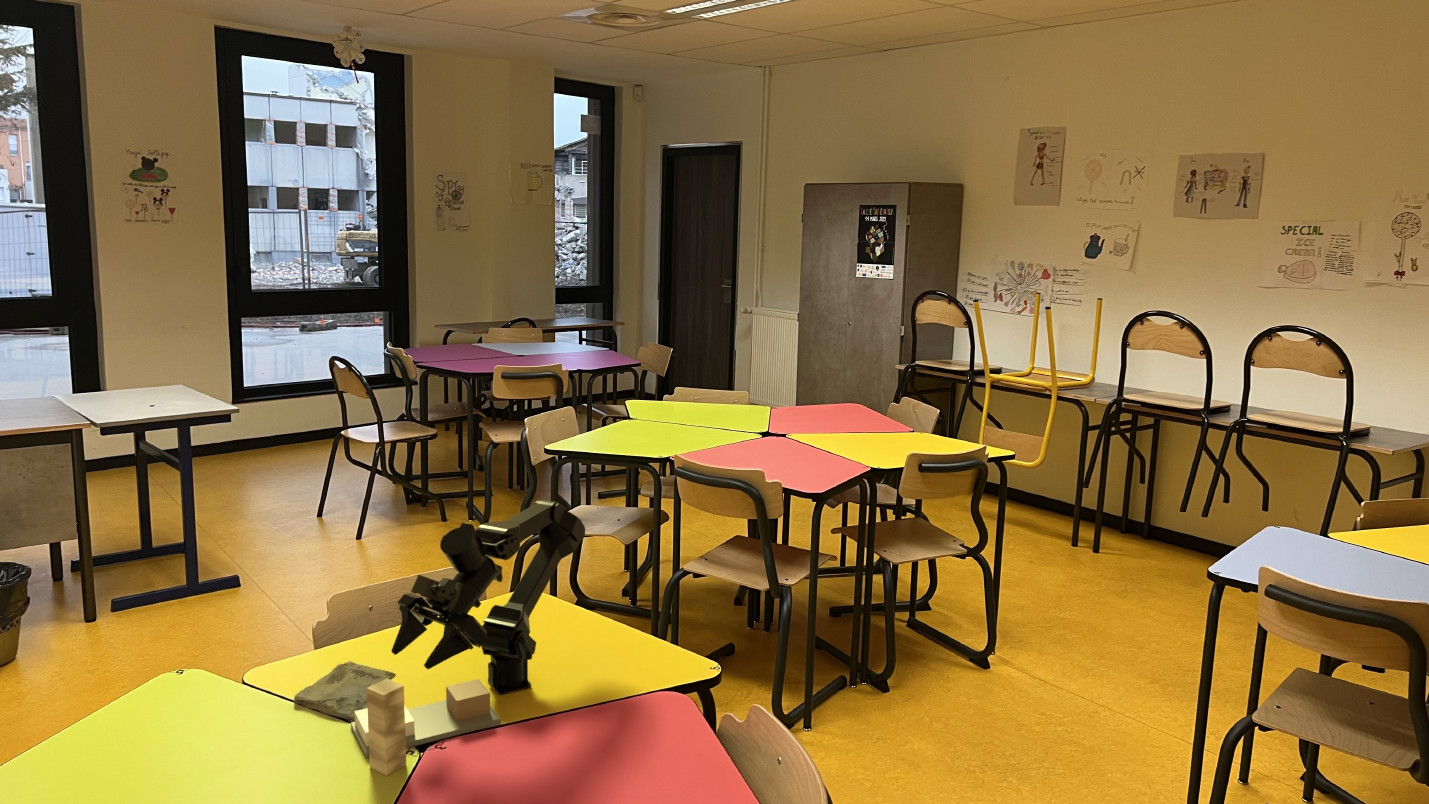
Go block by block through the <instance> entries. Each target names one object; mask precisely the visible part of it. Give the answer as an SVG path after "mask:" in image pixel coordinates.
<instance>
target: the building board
mask: <svg viewBox="0 0 1429 804" xmlns="http://www.w3.org/2000/svg"><path fill="white" fill-rule="evenodd" d="M445 696H446V699H445V700H439V701H436V702H433V703H432V702H431V703H428V704H424V705H423V704H422V705H420V706H415V707H410V708H407V707H406V705H405V704H404V707H405V738H406V749H408V748H412V747H416V746H420V745H424V744H427V743H432V742H437V741H440V740H443V739H444V740H445V739H447V738H451V737H454V736H455V737H456V736H459V735H463V734H467V733H470V732H475V731H478V730H482V729H485V728H486V729H487V728H490V727H493V726H497V725H501V722H502V720H501V719H502V718H501V717H500V716H499V715H498V713H497V712H496V710H495V709H494V708H493V706H492V705H491V692H490V691H489V690H488V687H486V686H485V685H484V683H483V682H482V681H481V679H479V678H477V679H472V680H467V681H463V682H459V683H454V684H450V685H446V686H445ZM350 729H351V732H352V733H353V735H354V737H355V738H356V741H357V743H358V744H359V747H360V749H361V751H362V753H363V754H364V757H365V759H369V734H368V710H367V709H362V710H358V711H355V721H352V722H350Z"/></svg>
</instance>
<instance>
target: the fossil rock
mask: <svg viewBox="0 0 1429 804" xmlns="http://www.w3.org/2000/svg"><path fill="white" fill-rule="evenodd" d="M396 676H397V674H396V673H395V672H391V671H389V670H385V669H381V668H380V669H378V668H376V667H371V666H368V665H364V664H359V663H356V662H354V661H351V660H349V661H347V662H344V663H338V664H336V666H335V667H334V668H333V669H332V670H331V671H330V672H328V674H325V675H324V676H323V677H321V678H319V679H318V680H316V682H314V683H313V684H312V685H308V686H306V687H304V688H303V689H302V690H299V691H298V692H297V693H296V694H295V695H294V697H293V701H294V702H293V703H294V704H296V705H298V706H299V705H300V706H302V707H305V708H307V709H310V710H316V711H319V712H320V713H322V714H325V715H327V716H332V717H336V718H340V719H341V718H342V719H345V720H346V719H347V720H351V721H353V722H355V711H358V710H362V709H367V688H368V687H370V686H372V685H374V684H376V683H379V682H381V681H383V680H385V679H389V680H392V679H394V677H396Z"/></svg>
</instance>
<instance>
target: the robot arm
mask: <svg viewBox="0 0 1429 804" xmlns="http://www.w3.org/2000/svg"><path fill="white" fill-rule="evenodd" d="M536 533H538V539H539V540H538V541H539V547H538V549H537V550H536V552H535V554H534V556H533V557H532V560H531V561H530V562H529V565H528V566H527V568H526V570H525V572H524V573H523V575H522V576H521V578H520V580H519V582H518V583H517V585H516V586H515V589H514V590H513V592H512V594H511V596H510V597H509V599H508V601H507V602H506V604H504V605H499V604H494V605H493V606H492V607H491V608H490V610H489V613H488V614H487V616H486V617H485V619H483V624H481V623H480V621H478V620H477V619H476V617H474V615H470V614H468V613H469V612H471V610H472V609H473V608H475V609H479V608H480V606H481V605H482V602H481V601H480V600H479V599H480V598H481V597H482V595H483V594H484V593H485V591H486V590H487V589H488V588H489V587H490V586H491V584H492V582H493V581H496V582H498V583H502V582H503V566H501V565H499V564H496V563H495V562H494V560H493V559H497V560H503V561H507V560H510V559H512V558H513V556H515V554H517V553H518V552H519V551H520V550H521V543H522V542H524V541H525V540H527V539H528V538H530V537H532V536H533V535H534V534H536ZM585 535H586V526H585V524H584V523H583V521H582V520H581V518H579V516H576V515H575V514H574V513H572V512H571V511H569V510H568V509H566V508H565V507H564V506H563V505H562V504H561V503H559V502H558V501H552V500H546V499H540V500H536V501H535V502H534V503H533V505H530V506H529V507H528V508H527V507H526V509H524V510H521V511H520V512H519V513H517V514H515V515H513V516H511V517H509V518H508V519H505V520H500V521H489V522H485V523H482V524H480V525H479V526H477V527H476V528H475V526H474V524H473V523H468V522H461V524H460V526H459V527H455V528H453V529H451V530H450V531H448V532H447V533H446V534H444V535H443V536H442V537H441V540H440V545H439V547H440V549H441V551H442V553H443V554H444V556H445V557H446V558H447V560H448V561H449V563H450V564H451V566H452V568H453V569H454V570H455V571H456V572H457V573H456V574H455V576H454V577H453V578H452V579H451V578H449V577H448V578H447V577H442V578H441V580H439V581H438V580H436V579H432V578H430V577H427V576H424V575H421V574H417V576H416V579H415V581H414V583H413V585H412V587H411V590H410V592H409V593H404V594H403V595H402V596H401V598H399V600H398V601H397V603H396V604H397V605H398V606H399V607H398V610H399V612H400V613H401V623H400V627H399V629H398V632H397V635H396V637H395V639H394V642H393V645H392V648H391V653H392V654H393V655H394V656H396V655H398V654H400V653H401V652H402V651H403V650H405V649H406V648H407V647H408V646H409V645H411V644H412V643H414V641H415V640H416V639H418V638H419V637H420V636H422V635H423V634H424V633H426V631H428V628H427V626H429V625H432V623H433V622H435V623H437V624H440V625H442V626H444V627H443V635H442V637H441V639H440V640H439V642H438V643H437V644H436V646H435V647H434V649H433V650H432V652H431V653H430V655H429V656H428V657H427V659H426V661H425V662H424V664H423V666H424V668H426V670H431V669H432V668H434V667H436V666H437V665H439V664H441V663H443V662H445V661H447V660H448V659H451V658H453V657H455V656H456V655H460V654H461V653H463V652H465V651H467V650H470V651H471V650H473V649H474V647H476V648H481V650H482V654H483V655H484V656H485V655H486V656H487V655H488V656H490V662H488V663H487V669H488V671H487V673H488V674H487V675H488V677H487V682H488V683H489V685H490V686H491V687H492V688H493V689H494V691H495V692H496V693H497V694H498V695H504V694H507V693H512V692H516V691H519V690H523V689H529V688H531V687H532V683H531V682H530V681H529V675H528V674H529V672H528V670H529V666H528V664H529V663H528V661H529V660H530V661H531V660H533V655H534V654H535V652H536V647H537V641H536V640H535V639H534V638H533V637H531V636H530V633H531V626H530V616H531V615H532V613H533V611H534V609H535V607H536V605H537V604H538V602H539V599H540V598H541V597H542V594H543V592H544V591H545V589H546V587H547V585H548V583H549V582H550V580H551V578H552V577H553V575H554V573H555V571H556V570H557V568H558V565H559V564H560V562H561V560H563V559H565V557H568V556H569V555H571V554H573V553H574V552H575V551H576V550H577V548H578V547H579V545H580V544H581V543H582V541H583V540H584V537H585ZM492 558H493V559H492ZM417 594H419V595H417ZM424 598H425V599H424Z"/></svg>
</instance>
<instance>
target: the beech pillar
mask: <svg viewBox="0 0 1429 804" xmlns="http://www.w3.org/2000/svg"><path fill="white" fill-rule="evenodd" d="M404 705H405V686H404V684H401V683H399V682H396V681H394V680H392V679H390V680H389V679H385V680H383V681H381V682H379V683H376V684H374V685H372V686H370V687H368V688H367V710H368V734H369V758H368V759H369V769H371V770H373V771H375V772H378V773H379V774H381V775H383V776H385V777H387V776H389V775H391V774H393V773H394V772H396V771H398V770H400V769H401V768H403V767H405V766H407V748H406V738H405V707H406V706H405V707H404Z"/></svg>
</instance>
